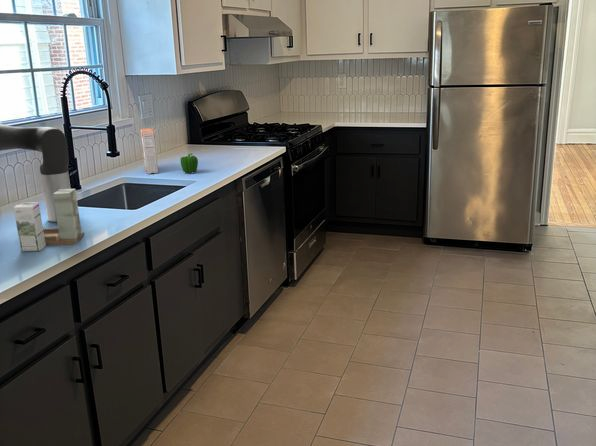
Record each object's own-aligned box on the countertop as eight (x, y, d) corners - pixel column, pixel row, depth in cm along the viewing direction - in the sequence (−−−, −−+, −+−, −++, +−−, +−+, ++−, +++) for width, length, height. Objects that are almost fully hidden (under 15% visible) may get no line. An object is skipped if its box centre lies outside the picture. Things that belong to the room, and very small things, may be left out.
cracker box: (144, 169, 297) (140, 128, 291) (156, 168, 299) (152, 127, 293) (146, 174, 284) (141, 132, 278) (158, 173, 286) (154, 131, 280)
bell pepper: (179, 172, 289) (177, 152, 286) (195, 170, 292) (194, 150, 289) (183, 175, 281) (182, 154, 279) (200, 173, 285) (198, 153, 282)
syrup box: (46, 245, 184) (39, 201, 180) (39, 251, 179) (31, 206, 174) (28, 246, 184) (20, 201, 180) (20, 252, 178) (12, 206, 174)
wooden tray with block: (40, 236, 193) (32, 189, 188) (84, 235, 194) (77, 187, 189) (30, 245, 185) (21, 195, 180) (75, 243, 185) (68, 194, 180)
